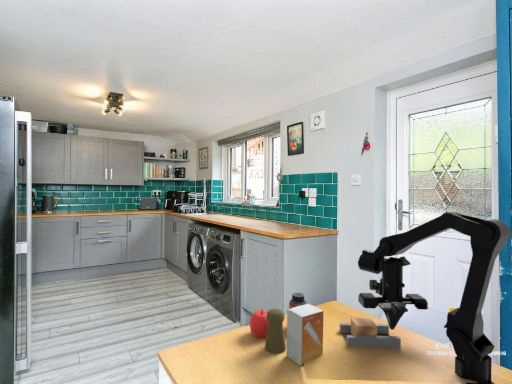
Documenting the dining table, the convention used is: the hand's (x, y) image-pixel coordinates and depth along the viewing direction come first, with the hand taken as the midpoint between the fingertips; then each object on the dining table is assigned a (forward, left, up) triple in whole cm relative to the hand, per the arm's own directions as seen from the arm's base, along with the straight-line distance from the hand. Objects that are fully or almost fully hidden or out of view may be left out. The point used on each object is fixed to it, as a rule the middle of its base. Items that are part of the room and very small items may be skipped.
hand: (391, 329), depth 89 cm
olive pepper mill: (+36, +5, -4) cm, 36 cm away
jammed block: (+9, 0, -3) cm, 9 cm away
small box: (+28, +9, -4) cm, 29 cm away
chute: (+7, 0, -4) cm, 8 cm away
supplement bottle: (+28, -8, -4) cm, 29 cm away
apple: (+40, -3, -4) cm, 40 cm away
